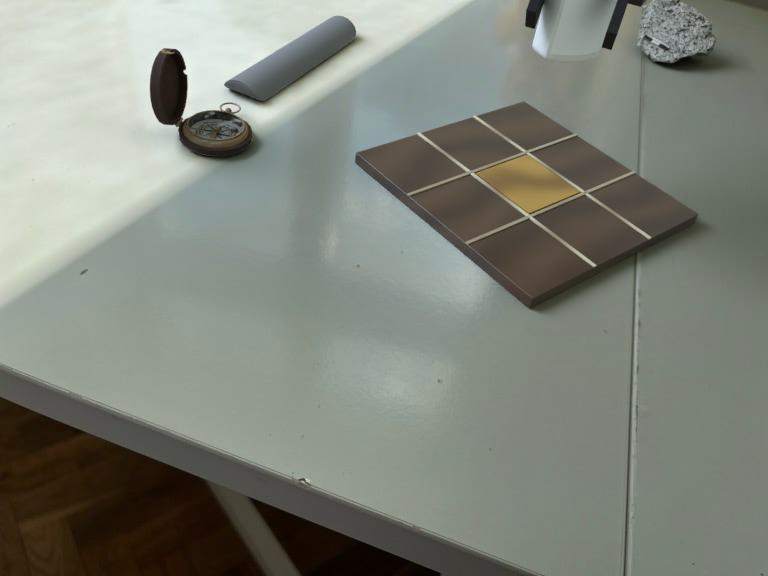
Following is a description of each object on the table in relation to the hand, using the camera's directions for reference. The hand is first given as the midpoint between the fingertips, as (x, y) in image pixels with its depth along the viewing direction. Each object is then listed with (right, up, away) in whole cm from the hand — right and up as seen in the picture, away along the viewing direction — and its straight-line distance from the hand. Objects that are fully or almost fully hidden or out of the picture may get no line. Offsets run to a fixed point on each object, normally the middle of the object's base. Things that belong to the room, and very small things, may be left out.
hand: (569, 29), depth 56 cm
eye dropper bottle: (+1, 0, +5) cm, 5 cm away
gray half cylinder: (-22, +4, +23) cm, 33 cm away
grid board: (-1, -10, +11) cm, 15 cm away
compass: (-28, -5, +12) cm, 31 cm away
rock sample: (+21, +9, +38) cm, 44 cm away
